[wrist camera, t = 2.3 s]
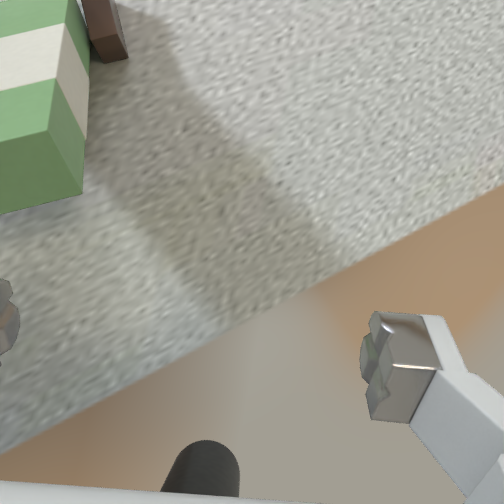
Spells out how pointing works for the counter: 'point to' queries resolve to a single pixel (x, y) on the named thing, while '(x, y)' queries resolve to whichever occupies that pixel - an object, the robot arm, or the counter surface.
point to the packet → (42, 101)
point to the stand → (105, 29)
